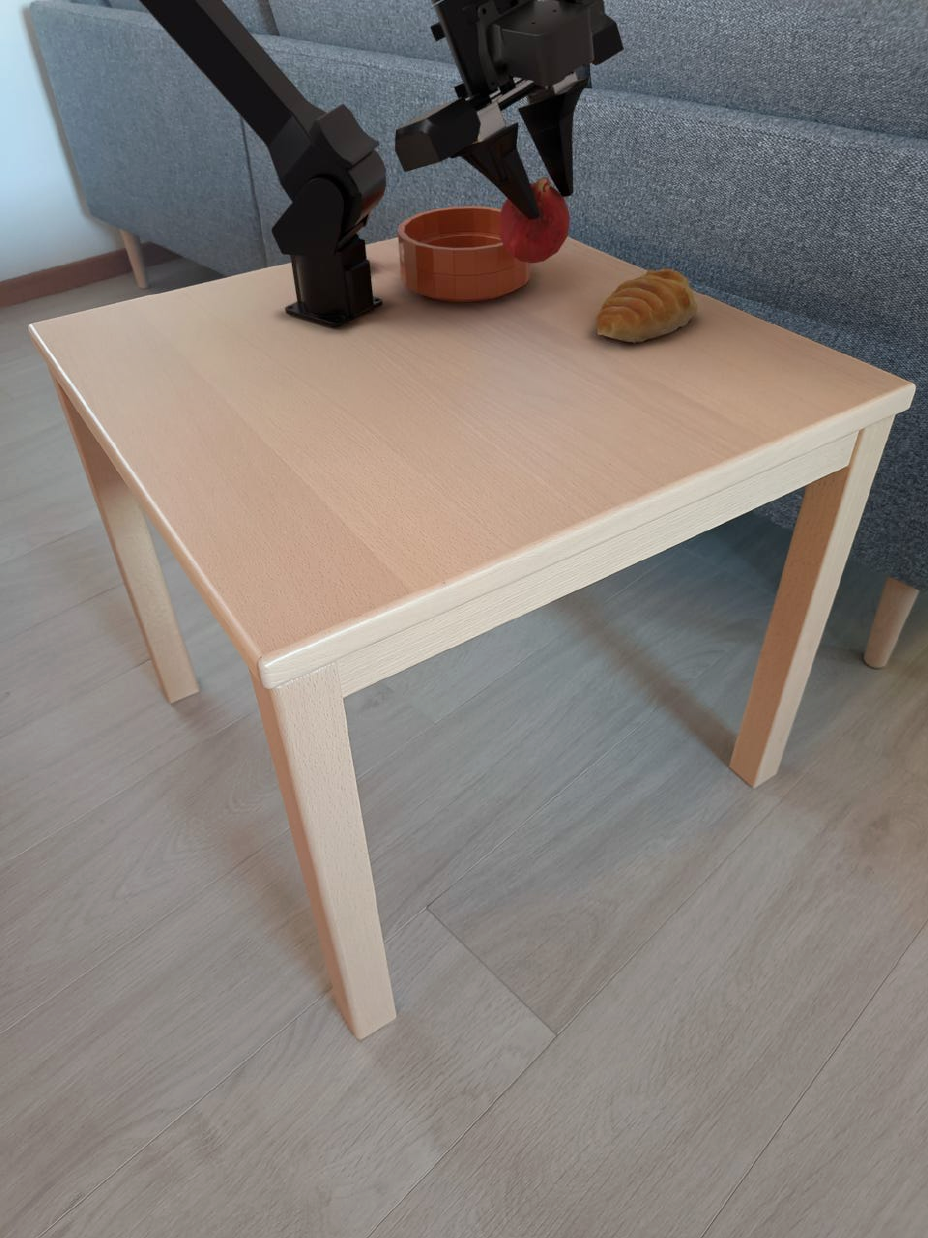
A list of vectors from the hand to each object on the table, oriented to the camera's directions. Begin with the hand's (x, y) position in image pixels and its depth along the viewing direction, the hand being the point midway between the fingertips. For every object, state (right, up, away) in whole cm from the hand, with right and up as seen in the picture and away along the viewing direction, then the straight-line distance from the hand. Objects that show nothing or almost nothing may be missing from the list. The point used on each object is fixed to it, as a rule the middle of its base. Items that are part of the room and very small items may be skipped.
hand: (551, 206), depth 70 cm
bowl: (-7, 0, +15) cm, 16 cm away
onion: (-2, -1, +7) cm, 7 cm away
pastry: (+9, -7, +7) cm, 13 cm away
